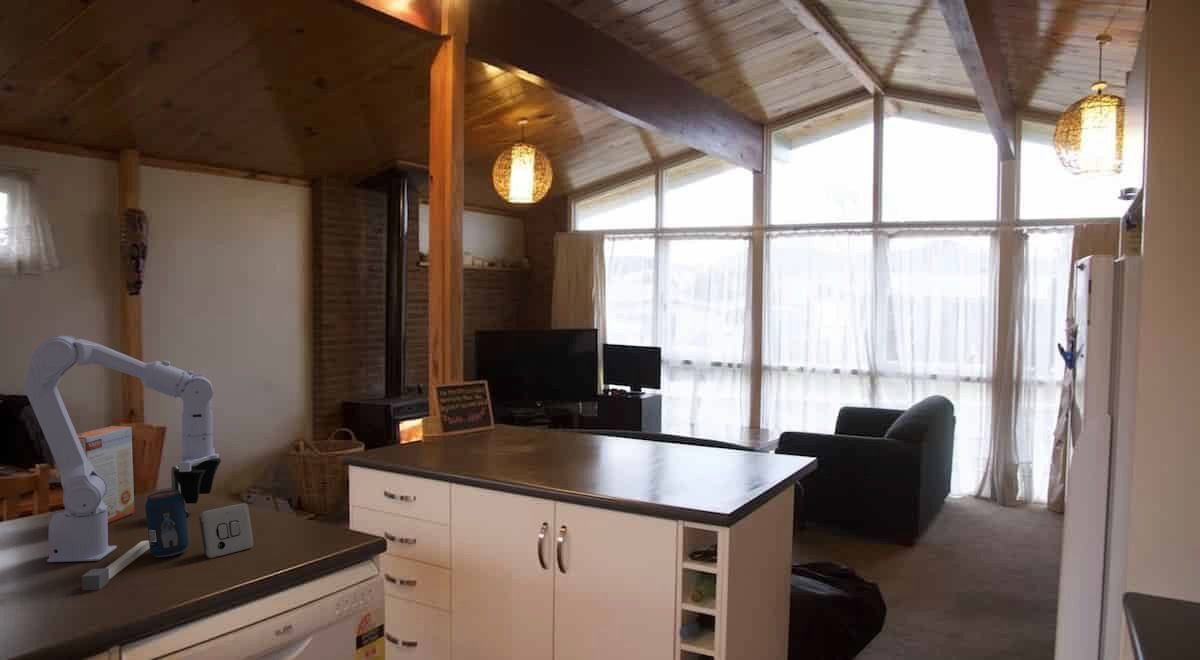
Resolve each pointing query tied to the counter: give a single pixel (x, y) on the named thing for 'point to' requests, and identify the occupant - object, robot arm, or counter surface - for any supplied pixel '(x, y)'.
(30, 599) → the counter surface
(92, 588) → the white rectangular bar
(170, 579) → the counter surface
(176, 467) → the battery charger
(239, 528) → the electrical switch
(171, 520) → the soda can
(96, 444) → the cracker box
